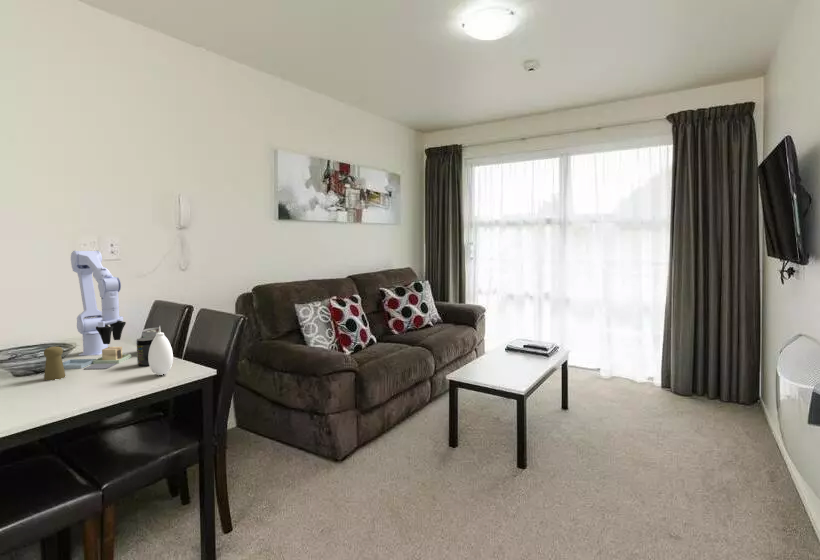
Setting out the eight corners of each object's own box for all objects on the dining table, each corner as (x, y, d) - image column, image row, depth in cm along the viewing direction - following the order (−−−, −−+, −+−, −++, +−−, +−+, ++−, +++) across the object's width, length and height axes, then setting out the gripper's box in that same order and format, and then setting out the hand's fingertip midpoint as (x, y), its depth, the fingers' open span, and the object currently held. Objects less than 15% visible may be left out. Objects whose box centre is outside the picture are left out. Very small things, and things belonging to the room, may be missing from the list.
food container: (144, 350, 200) (143, 328, 199) (159, 349, 202) (159, 327, 202) (140, 356, 189) (139, 333, 188) (157, 355, 191) (156, 332, 190)
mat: (94, 365, 175) (94, 363, 175) (116, 364, 176) (116, 363, 176) (83, 370, 168) (83, 368, 168) (106, 369, 169) (106, 368, 169)
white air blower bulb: (174, 376, 162) (172, 326, 160) (149, 379, 157) (147, 328, 156) (172, 370, 168) (171, 323, 167) (148, 373, 164) (146, 324, 163)
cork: (53, 381, 154) (51, 349, 154) (39, 380, 156) (37, 348, 155) (70, 376, 160) (68, 345, 160) (56, 375, 162) (54, 344, 161)
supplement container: (150, 367, 172) (150, 340, 171) (133, 367, 172) (132, 340, 171) (160, 363, 179) (160, 337, 178) (143, 363, 179) (143, 337, 178)
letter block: (109, 358, 183) (108, 346, 183) (122, 358, 184) (122, 346, 183) (102, 362, 178) (101, 349, 178) (116, 361, 179) (115, 349, 179)
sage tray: (106, 358, 185) (106, 354, 185) (131, 357, 186) (131, 354, 186) (93, 364, 176) (92, 360, 176) (119, 364, 177) (118, 360, 177)
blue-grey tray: (70, 363, 178) (70, 359, 178) (96, 362, 179) (96, 358, 179) (54, 369, 168) (53, 365, 168) (81, 369, 169) (81, 365, 169)
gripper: (111, 310, 173) (112, 345, 174) (130, 305, 187) (131, 338, 188) (91, 310, 172) (93, 346, 173) (112, 305, 186) (113, 338, 187)
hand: (111, 341), depth 180 cm, fingers open, 7 cm apart
